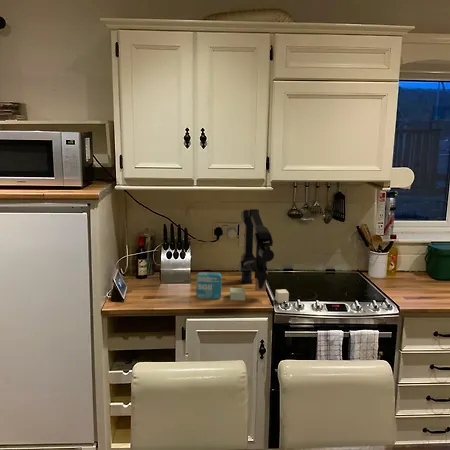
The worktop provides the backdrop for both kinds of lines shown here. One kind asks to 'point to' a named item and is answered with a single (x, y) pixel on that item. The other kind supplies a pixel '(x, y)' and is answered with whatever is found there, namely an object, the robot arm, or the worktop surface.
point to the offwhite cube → (282, 296)
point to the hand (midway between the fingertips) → (260, 286)
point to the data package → (208, 285)
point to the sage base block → (237, 293)
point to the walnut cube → (258, 286)
